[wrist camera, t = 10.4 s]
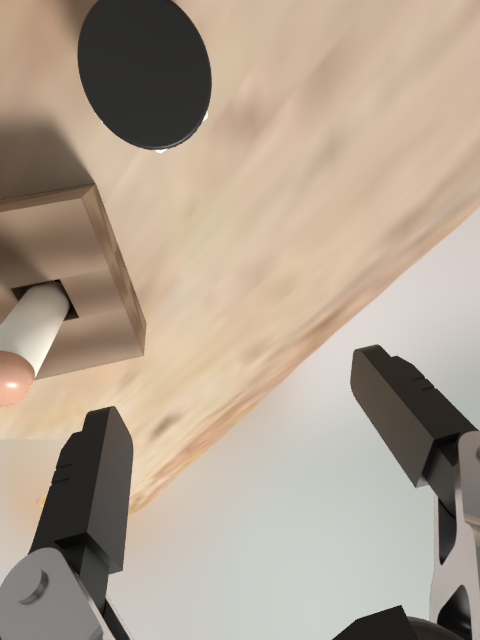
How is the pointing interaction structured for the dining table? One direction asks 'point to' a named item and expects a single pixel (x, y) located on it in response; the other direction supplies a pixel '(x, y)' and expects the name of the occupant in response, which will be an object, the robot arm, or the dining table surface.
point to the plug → (29, 337)
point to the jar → (145, 71)
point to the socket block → (71, 276)
